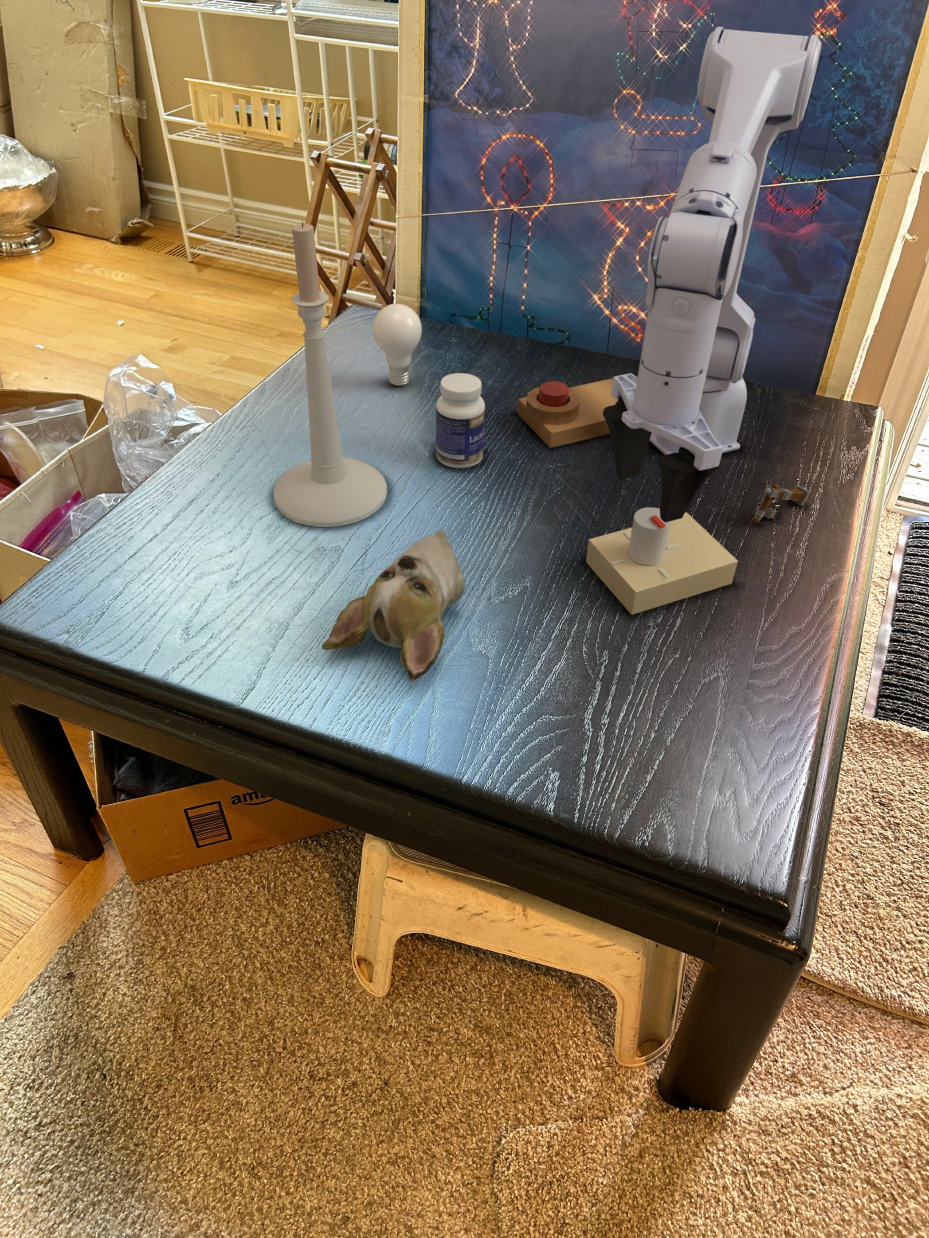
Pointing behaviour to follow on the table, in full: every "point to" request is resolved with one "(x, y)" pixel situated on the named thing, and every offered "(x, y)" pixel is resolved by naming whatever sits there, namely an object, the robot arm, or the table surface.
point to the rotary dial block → (662, 566)
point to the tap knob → (648, 537)
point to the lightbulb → (397, 339)
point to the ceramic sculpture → (406, 605)
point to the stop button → (553, 394)
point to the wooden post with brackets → (775, 492)
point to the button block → (569, 414)
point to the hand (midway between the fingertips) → (649, 496)
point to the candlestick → (323, 423)
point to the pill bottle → (460, 421)
